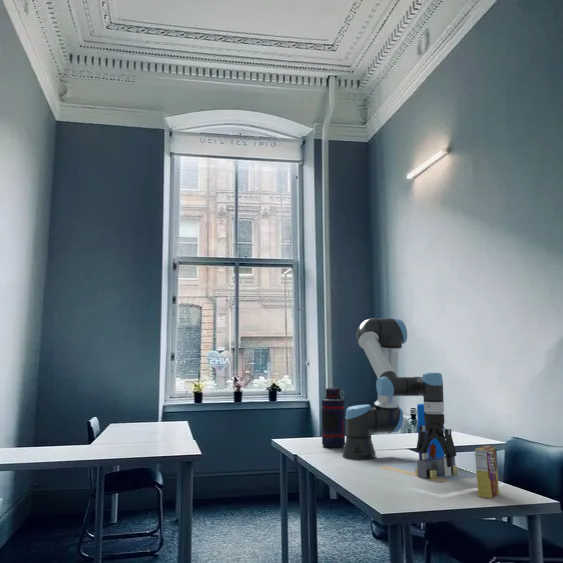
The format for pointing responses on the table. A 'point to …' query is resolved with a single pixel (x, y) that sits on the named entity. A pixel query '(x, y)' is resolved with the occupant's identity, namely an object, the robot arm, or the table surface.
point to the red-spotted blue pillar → (434, 445)
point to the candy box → (486, 471)
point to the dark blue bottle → (333, 419)
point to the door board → (410, 470)
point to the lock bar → (431, 466)
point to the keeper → (434, 473)
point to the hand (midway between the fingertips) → (436, 473)
